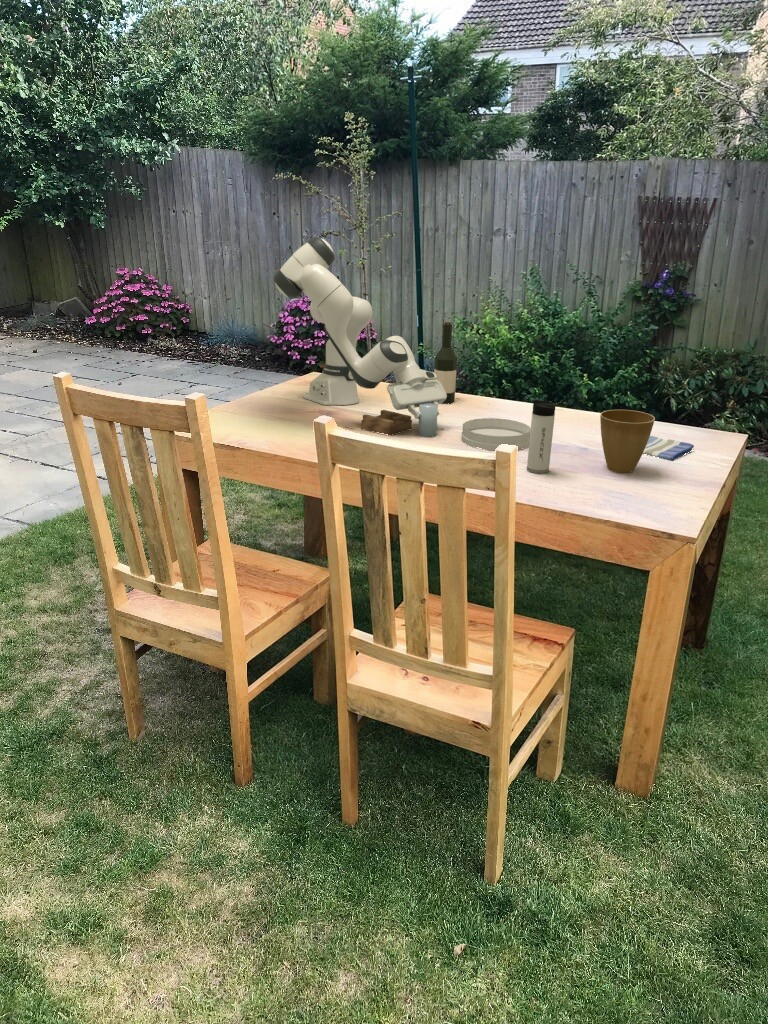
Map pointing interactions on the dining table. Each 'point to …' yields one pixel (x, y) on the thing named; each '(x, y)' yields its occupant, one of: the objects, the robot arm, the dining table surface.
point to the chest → (387, 422)
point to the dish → (495, 433)
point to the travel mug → (541, 437)
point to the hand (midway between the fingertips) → (427, 416)
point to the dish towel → (666, 448)
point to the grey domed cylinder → (427, 420)
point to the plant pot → (624, 438)
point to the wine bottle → (446, 364)
